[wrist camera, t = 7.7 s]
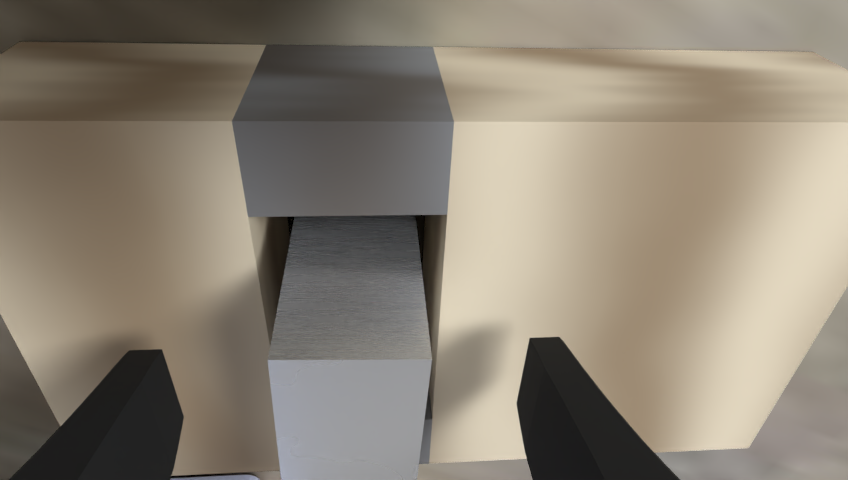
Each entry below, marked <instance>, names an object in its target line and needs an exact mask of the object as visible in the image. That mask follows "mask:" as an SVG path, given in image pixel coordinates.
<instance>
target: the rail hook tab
mask: <svg viewBox="0 0 848 480" xmlns="http://www.w3.org/2000/svg"><path fill="white" fill-rule="evenodd" d="M431 364H432V354H431V346H430V337H429V328H428V320H427V311H426V302H425V294H424V285H423V276H422V268H421V259H420V250H419V242H418V233H417V224H416V216H415V215H375V216H295V217H294V223H293V228H292V233H291V239H290V244H289V249H288V254H287V260H286V265H285V270H284V276H283V281H282V286H281V292H280V297H279V302H278V308H277V313H276V318H275V323H274V329H273V334H272V339H271V345H270V350H269V355H268V368H269V377H270V386H271V394H272V403H273V412H274V421H275V430H276V439H277V447H278V456H279V465H280V474H281V480H417V475H418V467H419V459H420V451H421V443H422V435H423V427H424V420H425V412H426V404H427V396H428V388H429V380H430V372H431Z"/></svg>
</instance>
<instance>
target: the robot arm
mask: <svg viewBox="0 0 848 480" xmlns="http://www.w3.org/2000/svg"><path fill="white" fill-rule="evenodd" d="M516 404H517V410H518V416H519V422H520V428H521V433H522V439H523V444H524V450H525V454H526V457H527V461H528V464H529V468H530V471H531V475H532V478H533V480H680V479H679V478H678V477H677V476H676V475H675V474H674V473H673V472H672V471H671V470H670V469H669V468H668V467H667V466H666V465H665V464H664V463H663V461H662V460H661V459H660V458H659V457H658V456H657V455H656V454H655V453H654V452H653V451H652V450H651V449H650V447H649V446H648V445H647V444H646V443H645V442H644V441H643V440H642V439H641V437H640V436H639V435H638V434H637V433H636V432H635V431H634V429H633V428H632V427H631V426H630V425H629V424H628V422H627V421H626V420H625V419H624V418H623V416H622V415H621V414H620V413H619V412H618V411H617V409H616V408H615V407H614V406H613V405H612V403H611V402H610V401H609V400H608V399H607V397H606V396H605V395H604V394H603V392H602V391H601V390H600V389H599V387H598V386H597V385H596V383H595V382H594V381H593V380H592V378H591V377H590V376H589V374H588V373H587V372H586V371H585V369H584V368H583V367H582V365H581V364H580V363H579V361H578V360H577V359H576V357H575V356H574V355H573V353H572V352H571V351H570V349H569V348H568V347H567V345H566V344H565V343H564V341H563V340H562V339H561V338H560V337H538V338H530V339H529V344H528V349H527V353H526V358H525V363H524V368H523V373H522V378H521V383H520V388H519V393H518V398H517V403H516ZM183 419H184V415H183V412H182V409H181V406H180V403H179V400H178V397H177V394H176V391H175V388H174V385H173V381H172V378H171V375H170V372H169V369H168V366H167V363H166V360H165V357H164V354H163V351H162V349H151V350H129V351H128V352H127V353H126V354H125V355H124V356H123V357H122V358H121V359H120V360H119V361H118V363H117V364H116V365H115V366H114V367H113V368H112V369H111V370H110V372H109V373H108V374H107V375H106V376H105V377H104V378H103V380H102V381H101V382H100V383H99V384H98V385H97V386H96V388H95V389H94V390H93V391H92V392H91V393H90V394H89V395H88V397H87V398H86V399H85V400H84V401H83V402H82V403H81V404H80V406H79V407H78V408H77V409H76V410H75V411H74V412H73V413H72V415H71V416H70V417H69V418H68V419H67V420H66V421H65V422H64V423H63V424H62V425H61V426H60V427H59V429H58V430H57V431H56V432H55V433H54V434H53V435H52V436H51V437H50V438H49V439H48V440H47V441H46V443H45V444H44V445H43V446H42V447H41V448H40V449H39V450H38V451H37V452H36V453H35V454H34V455H33V456H32V457H31V458H30V459H29V460H28V461H27V462H26V463H25V464H24V465H23V466H22V467H21V468H20V469H19V470H18V471H17V472H16V473H15V474H14V475H13V476H12V477H11V478H10V479H9V480H259V478H257V477H256V476H253V475H226V476H206V477H185V478H171V475H172V472H173V469H174V465H175V460H176V455H177V451H178V446H179V441H180V435H181V430H182V425H183Z"/></svg>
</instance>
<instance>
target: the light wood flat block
mask: <svg viewBox="0 0 848 480" xmlns="http://www.w3.org/2000/svg"><path fill="white" fill-rule="evenodd" d="M375 215H425V230H424V252H423V273H422V276H423V285H424V294H425V302H426V311H427V320H428V328H429V337H430V346H431V354H432V364H431V372H430V380H429V388H428V396H427V404H426V412H425V420H424V427H423V435H422V443H421V451H420V459H419V464H428V463H449V462H469V461H490V460H511V459H527V457H526V454H525V450H524V444H523V439H522V433H521V428H520V422H519V416H518V410H517V404H516V403H517V398H518V393H519V388H520V383H521V378H522V373H523V368H524V363H525V358H526V353H527V349H528V344H529V339H530V338H538V337H560V338H561V339H562V340H563V341H564V343H565V344H566V345H567V347H568V348H569V349H570V351H571V352H572V353H573V355H574V356H575V357H576V359H577V360H578V361H579V363H580V364H581V365H582V367H583V368H584V369H585V371H586V372H587V373H588V374H589V376H590V377H591V378H592V380H593V381H594V382H595V383H596V385H597V386H598V387H599V389H600V390H601V391H602V392H603V394H604V395H605V396H606V397H607V399H608V400H609V401H610V402H611V403H612V405H613V406H614V407H615V408H616V409H617V411H618V412H619V413H620V414H621V415H622V416H623V418H624V419H625V420H626V421H627V422H628V424H629V425H630V426H631V427H632V428H633V429H634V431H635V432H636V433H637V434H638V435H639V436H640V437H641V439H642V440H643V441H644V442H645V443H646V444H647V445H648V446H649V447H650V449H651V450H652V451H653V452H654V453H656V452H677V451H697V450H718V449H739V448H749V446H750V445H751V443H752V441H753V440H754V438H755V437H756V435H757V433H758V432H759V430H760V428H761V427H762V425H763V423H764V422H765V420H766V419H767V417H768V415H769V414H770V412H771V410H772V409H773V407H774V405H775V404H776V402H777V401H778V399H779V397H780V396H781V394H782V392H783V391H784V389H785V387H786V386H787V384H788V383H789V381H790V379H791V378H792V376H793V374H794V373H795V371H796V369H797V368H798V366H799V365H800V363H801V361H802V360H803V358H804V356H805V355H806V353H807V351H808V350H809V348H810V347H811V345H812V343H813V342H814V340H815V338H816V337H817V335H818V333H819V332H820V330H821V329H822V327H823V325H824V324H825V322H826V320H827V319H828V317H829V316H830V314H831V312H832V311H833V309H834V307H835V306H836V304H837V302H838V301H839V299H840V298H841V296H842V294H843V293H844V291H845V289H846V288H847V286H848V70H846V69H844V68H843V67H841V66H839V65H837V64H835V63H833V62H831V61H829V60H827V59H825V58H824V57H822V56H820V55H818V54H816V53H814V52H782V51H705V50H628V49H551V48H474V47H397V46H320V45H243V44H166V43H89V42H19V43H17V44H16V45H14V46H13V47H11V48H9V49H8V50H6V51H5V52H3V53H2V54H0V314H1V316H2V318H3V320H4V322H5V324H6V326H7V327H8V329H9V331H10V333H11V335H12V337H13V339H14V341H15V342H16V344H17V346H18V348H19V350H20V352H21V354H22V356H23V357H24V359H25V361H26V363H27V365H28V367H29V369H30V371H31V372H32V374H33V376H34V378H35V380H36V382H37V384H38V386H39V387H40V389H41V391H42V393H43V395H44V397H45V399H46V401H47V402H48V404H49V406H50V408H51V410H52V412H53V414H54V416H55V417H56V419H57V421H58V423H59V425H60V426H61V425H62V424H63V423H64V422H65V421H66V420H67V419H68V418H69V417H70V416H71V415H72V413H73V412H74V411H75V410H76V409H77V408H78V407H79V406H80V404H81V403H82V402H83V401H84V400H85V399H86V398H87V397H88V395H89V394H90V393H91V392H92V391H93V390H94V389H95V388H96V386H97V385H98V384H99V383H100V382H101V381H102V380H103V378H104V377H105V376H106V375H107V374H108V373H109V372H110V370H111V369H112V368H113V367H114V366H115V365H116V364H117V363H118V361H119V360H120V359H121V358H122V357H123V356H124V355H125V354H126V353H127V352H128V351H129V350H151V349H162V351H163V354H164V357H165V360H166V363H167V366H168V369H169V372H170V375H171V378H172V381H173V385H174V388H175V391H176V394H177V397H178V400H179V403H180V406H181V409H182V412H183V415H184V419H183V425H182V430H181V435H180V441H179V446H178V451H177V455H176V460H175V465H174V469H173V472H172V475H171V476H179V475H200V474H220V473H241V472H262V471H280V465H279V456H278V447H277V439H276V430H275V421H274V412H273V403H272V394H271V386H270V377H269V368H268V355H269V350H270V345H271V339H272V334H273V329H274V323H275V318H276V313H277V308H278V302H279V297H280V292H281V286H282V281H283V276H284V270H285V265H286V260H287V254H288V249H289V244H290V236H289V228H288V220H287V217H290V216H375Z"/></svg>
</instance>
